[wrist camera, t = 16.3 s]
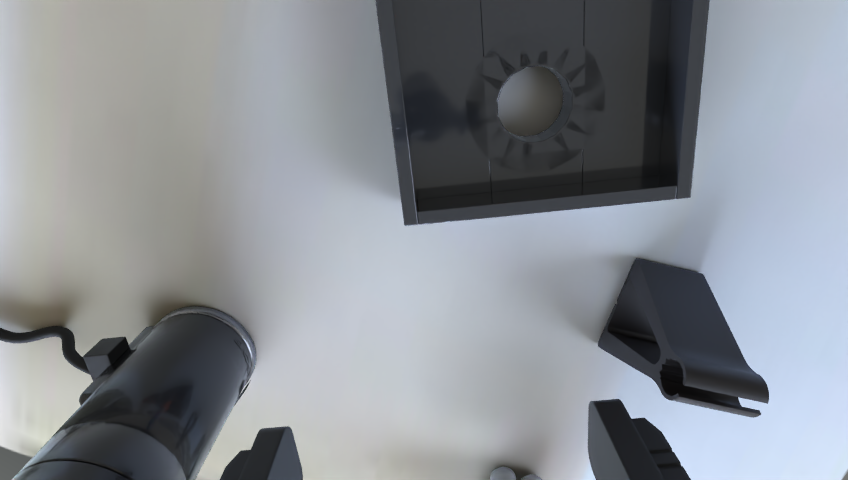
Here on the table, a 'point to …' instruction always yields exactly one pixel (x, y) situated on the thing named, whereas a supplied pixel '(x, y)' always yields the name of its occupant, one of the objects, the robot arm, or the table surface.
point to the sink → (513, 51)
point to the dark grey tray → (669, 184)
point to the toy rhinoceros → (509, 475)
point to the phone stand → (680, 339)
